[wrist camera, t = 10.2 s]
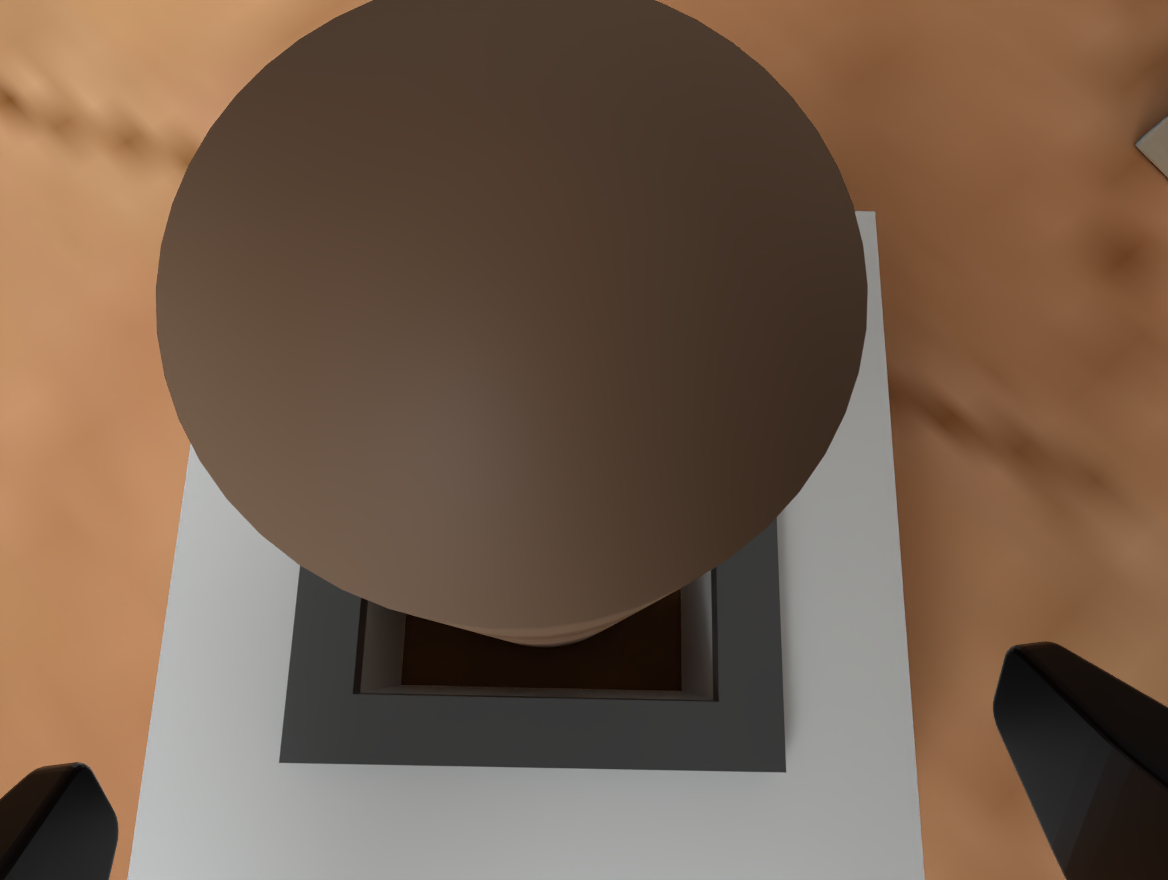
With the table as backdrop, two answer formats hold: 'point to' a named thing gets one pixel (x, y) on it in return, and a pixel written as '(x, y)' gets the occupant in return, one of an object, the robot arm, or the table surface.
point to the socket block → (549, 713)
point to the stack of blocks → (1156, 145)
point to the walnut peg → (512, 307)
